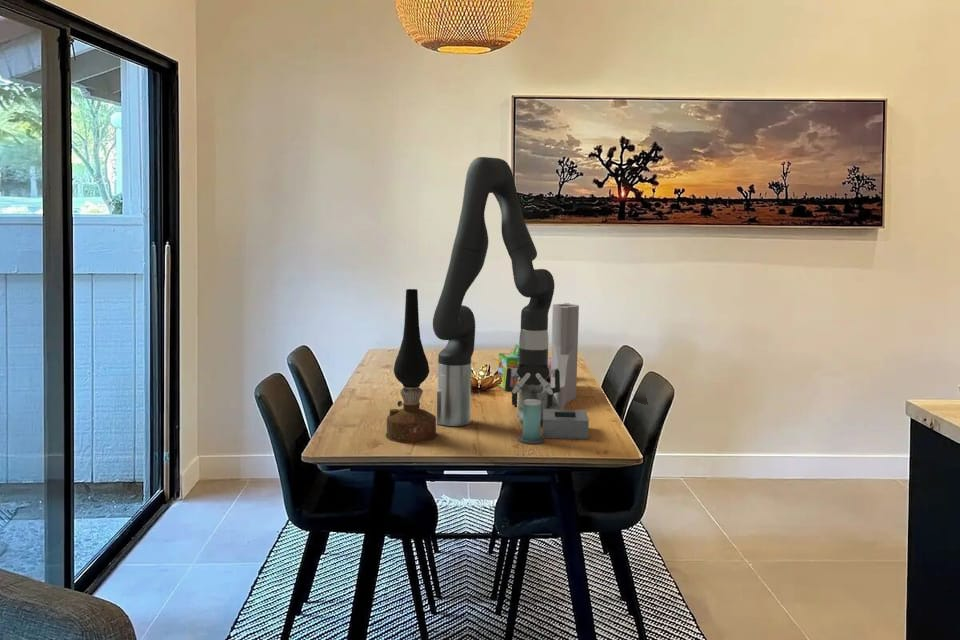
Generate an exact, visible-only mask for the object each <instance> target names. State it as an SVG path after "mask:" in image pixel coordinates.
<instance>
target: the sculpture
mask: <svg viewBox="0 0 960 640" xmlns="http://www.w3.org/2000/svg"><path fill="white" fill-rule="evenodd" d="M519 379H520V377H519V378H518V380H519ZM547 393H548V392H547V390H546V389H545V388H544V387H543V385H542V384H540V385H527V384H525V383H524V384H523V385H522V386H521V388H520V389H519V391H518V396H517V413H516V414H517V415H516V416H517V418H518V420H519V423H520V424H521V425H523V401H524V400H526V399H536V400H540V401H541V422H542V421H543V409H549V408H547ZM550 409H559V406H558V404H557V401H556V398H555V396H554V394H553V405H552V406H550ZM541 422H540V423H541Z"/></svg>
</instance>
